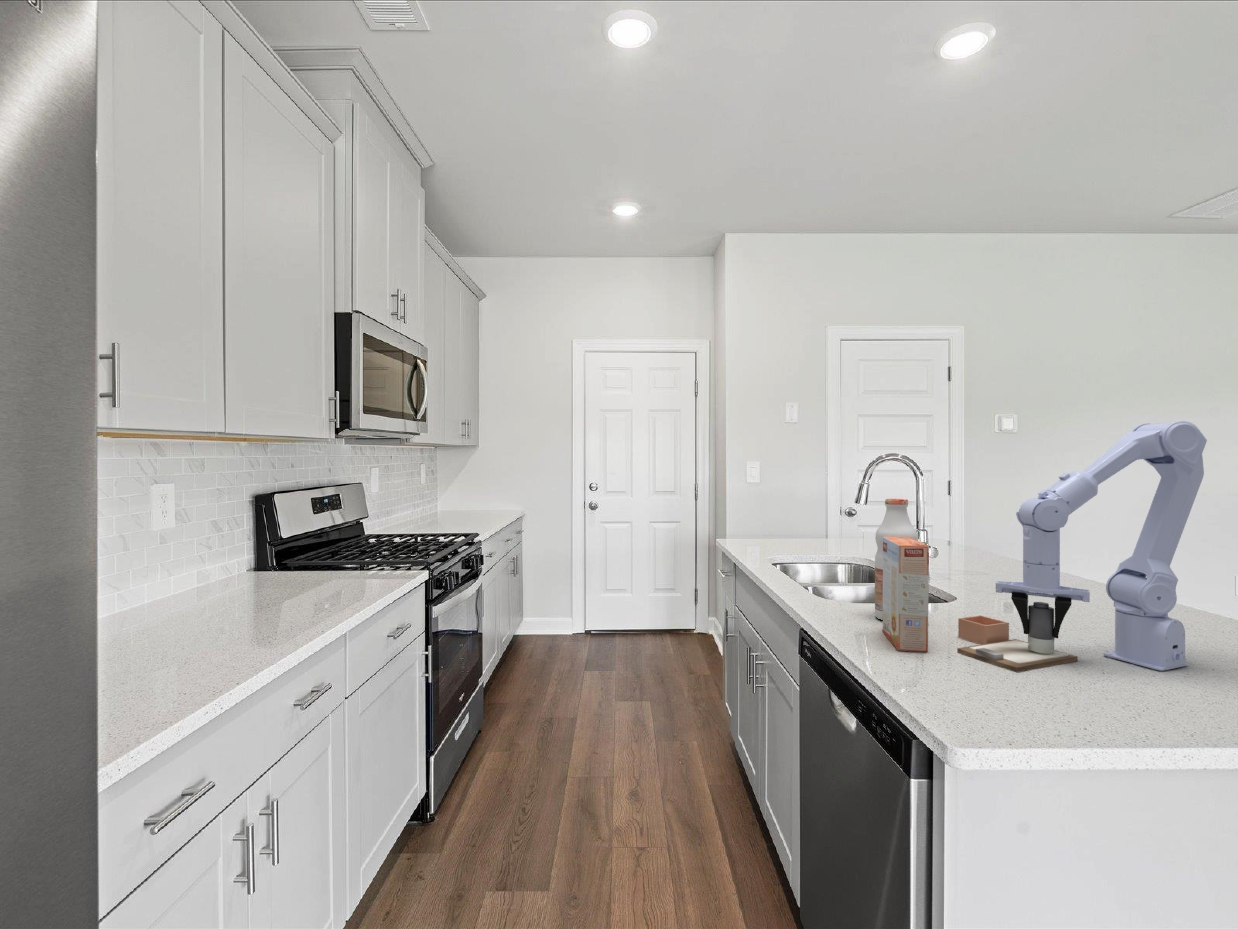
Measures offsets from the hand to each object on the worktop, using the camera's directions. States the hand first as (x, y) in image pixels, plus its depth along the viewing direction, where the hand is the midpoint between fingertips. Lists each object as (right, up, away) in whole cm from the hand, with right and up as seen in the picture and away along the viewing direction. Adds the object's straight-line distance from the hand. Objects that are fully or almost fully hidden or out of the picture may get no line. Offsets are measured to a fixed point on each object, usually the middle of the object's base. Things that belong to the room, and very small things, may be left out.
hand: (1041, 635), depth 117 cm
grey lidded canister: (0, -3, 0) cm, 3 cm away
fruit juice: (-15, -4, +28) cm, 32 cm away
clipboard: (-4, -4, +1) cm, 6 cm away
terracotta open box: (-4, -4, +11) cm, 13 cm away
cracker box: (-21, -5, +10) cm, 24 cm away
